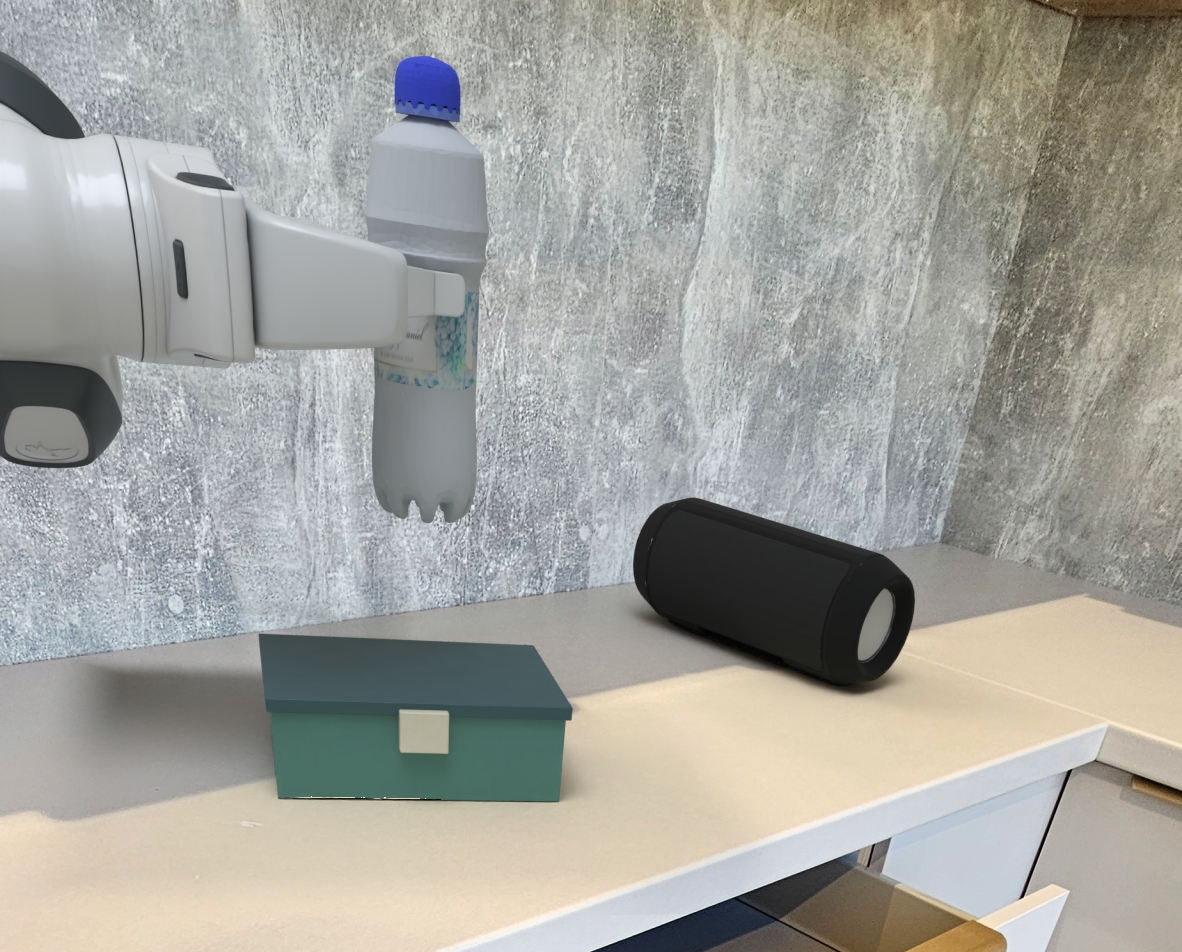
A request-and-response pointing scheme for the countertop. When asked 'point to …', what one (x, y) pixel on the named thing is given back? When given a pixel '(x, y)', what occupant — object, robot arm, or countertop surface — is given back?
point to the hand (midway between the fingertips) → (441, 287)
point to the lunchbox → (412, 719)
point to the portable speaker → (774, 590)
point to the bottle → (433, 343)
